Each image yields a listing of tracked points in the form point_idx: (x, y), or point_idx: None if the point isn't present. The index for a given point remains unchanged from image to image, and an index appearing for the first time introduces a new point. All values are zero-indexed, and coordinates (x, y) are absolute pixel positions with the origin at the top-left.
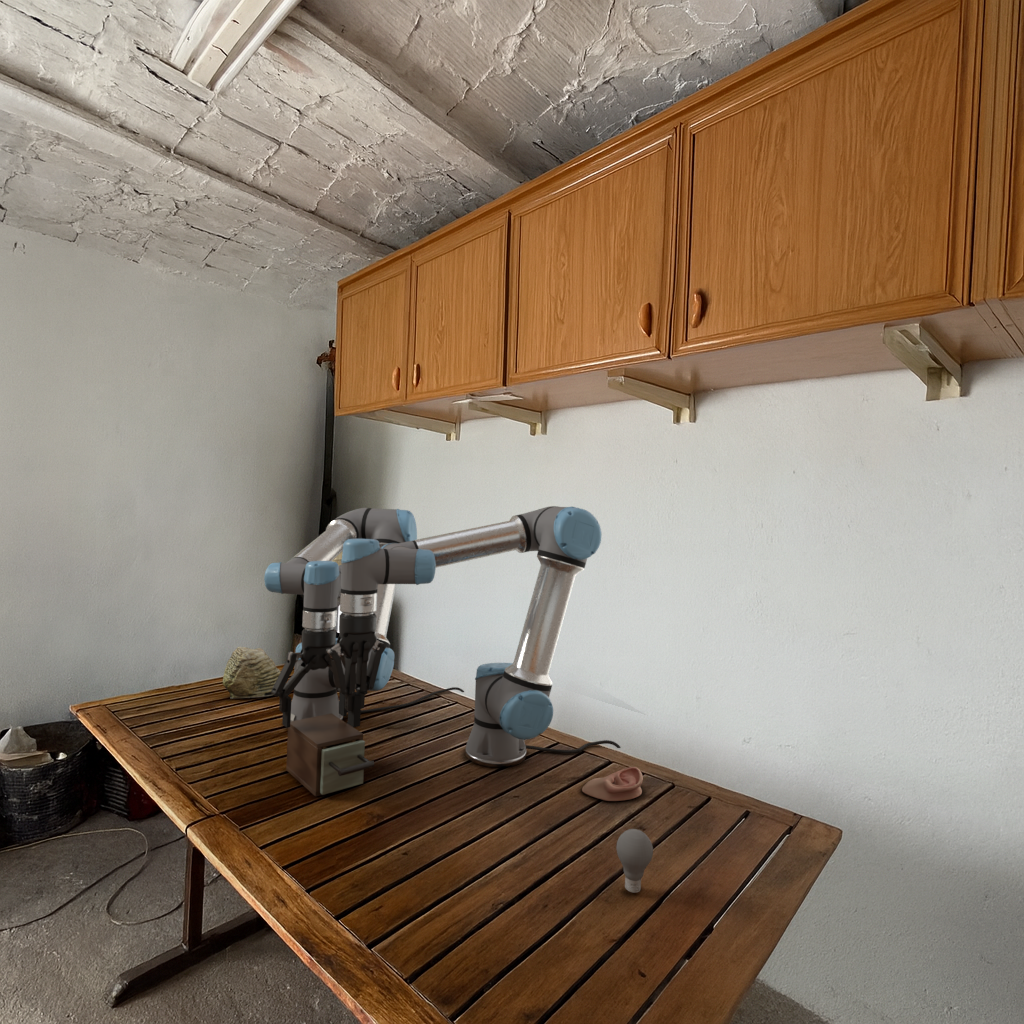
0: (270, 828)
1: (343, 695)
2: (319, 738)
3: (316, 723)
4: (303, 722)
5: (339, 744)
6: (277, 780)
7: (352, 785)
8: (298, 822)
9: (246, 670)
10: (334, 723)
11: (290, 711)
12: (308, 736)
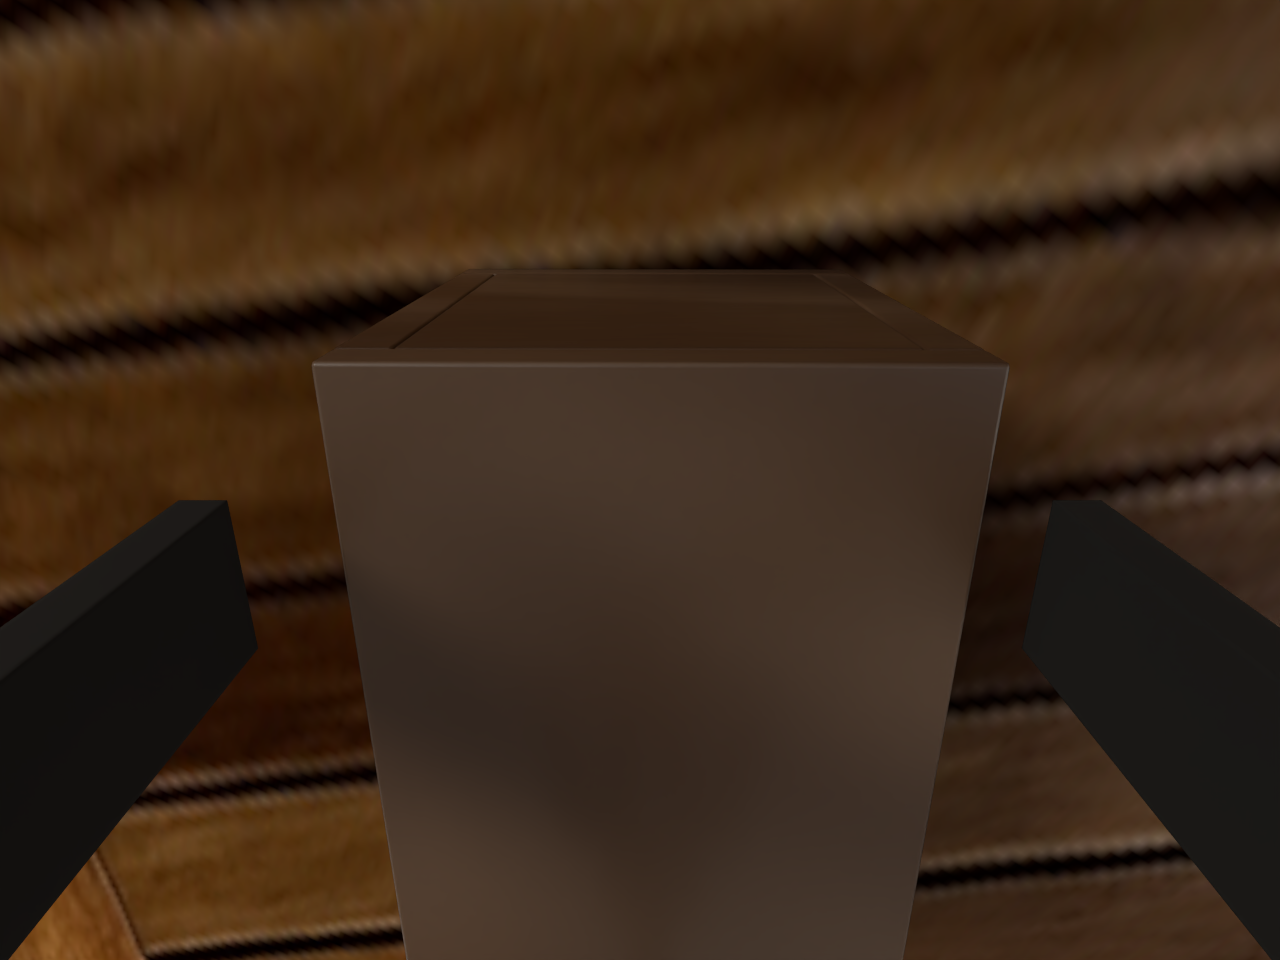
0: (212, 865)
1: (1237, 848)
2: None
3: (630, 618)
4: (497, 497)
5: None
6: None
7: None
8: (343, 883)
9: None
10: (813, 725)
11: (124, 803)
12: (403, 889)
